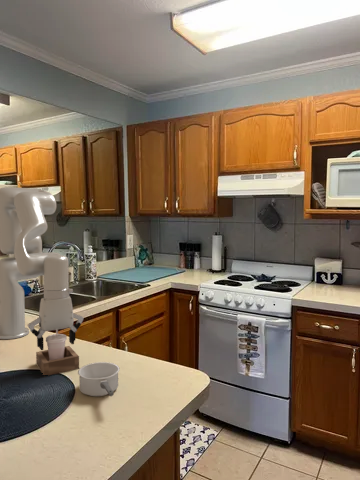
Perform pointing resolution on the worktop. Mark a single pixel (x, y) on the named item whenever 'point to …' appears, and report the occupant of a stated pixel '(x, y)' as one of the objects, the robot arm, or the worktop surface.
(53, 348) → the smoothie
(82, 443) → the worktop surface
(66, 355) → the wooden frame
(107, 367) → the saucepan
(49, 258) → the robot arm
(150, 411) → the worktop surface
